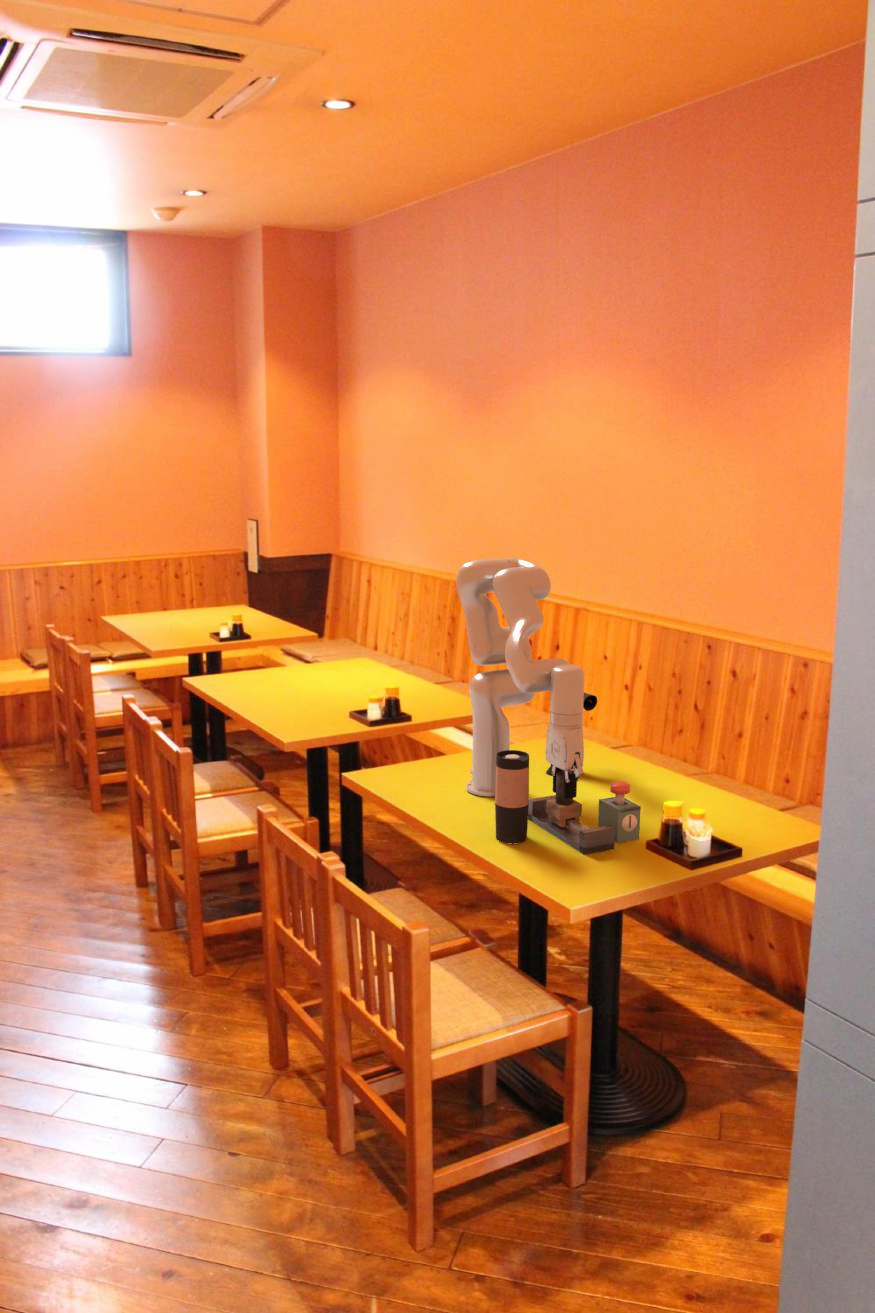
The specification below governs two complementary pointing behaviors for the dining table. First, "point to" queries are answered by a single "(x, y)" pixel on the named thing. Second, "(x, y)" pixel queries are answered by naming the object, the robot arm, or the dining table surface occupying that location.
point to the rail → (567, 836)
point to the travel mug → (512, 796)
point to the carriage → (562, 804)
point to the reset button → (620, 791)
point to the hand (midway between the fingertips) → (564, 794)
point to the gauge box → (620, 819)
